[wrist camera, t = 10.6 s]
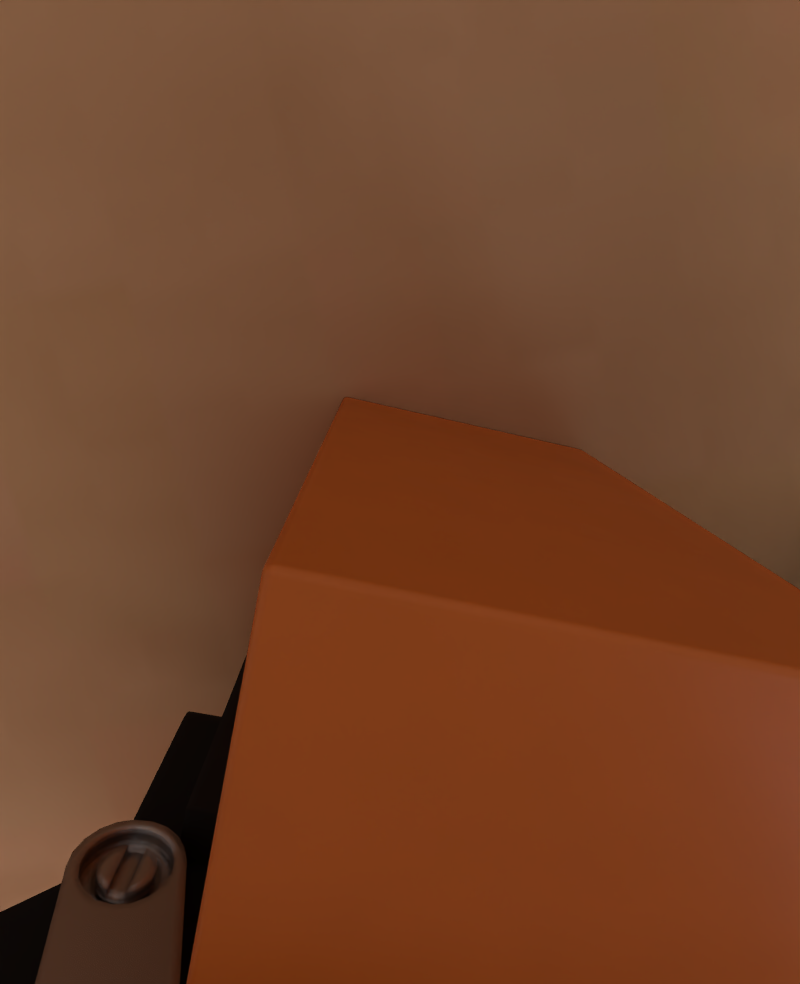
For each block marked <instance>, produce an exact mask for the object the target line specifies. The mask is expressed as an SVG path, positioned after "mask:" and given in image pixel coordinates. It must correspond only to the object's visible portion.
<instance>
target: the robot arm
mask: <svg viewBox="0 0 800 984" xmlns="http://www.w3.org/2000/svg"><path fill="white" fill-rule="evenodd" d="M246 657H247V655H246ZM245 662H246V658H245V660H244V663H243V665H242V668H241V670H240V673H239V675H238V678H237V680H236V683H235V685H234V688H233V690H232V693H231V695H230V698H229V701H228V703H227V706H226V708H225V711H224V713H223V716H222V717H219V716H213V715H207V714H201V713H196V712H190V711H189V712H187V713H186V715H185V717H184V718H183V720H182V722H181V724H180V727H179V729H178V731H177V733H176V735H175V737H174V739H173V741H172V743H171V745H170V747H169V749H168V751H167V753H166V755H165V757H164V759H163V761H162V763H161V765H160V767H159V769H158V771H157V773H156V775H155V777H154V779H153V781H152V783H151V786H150V788H149V790H148V792H147V794H146V796H145V798H144V800H143V802H142V804H141V806H140V808H139V810H138V812H137V814H136V816H135V818H134V820H130V821H122V822H117V823H114V824H111V825H109V826H106V827H103V828H101V829H99V830H97V831H96V832H94V833H93V834H91V835H90V836H88V837H87V838H85V839H84V840H83V841H82V842H81V843H80V844H79V846H78V847H77V848H76V849H75V850H74V851H73V853H72V855H71V857H70V859H69V861H68V863H67V865H66V868H65V872H64V876H63V879H62V883H61V884H59V885H57V886H55V887H52V888H50V889H48V890H46V891H44V892H42V893H40V894H38V895H36V896H33V897H31V898H29V899H27V900H25V901H23V902H21V903H19V904H17V905H15V906H12V907H10V908H8V909H6V910H4V911H2V912H0V984H186V983H187V977H188V972H189V966H190V961H191V956H192V950H193V945H194V939H195V934H196V928H197V923H198V918H199V912H200V907H201V901H202V896H203V890H204V885H205V880H206V874H207V869H208V863H209V858H210V852H211V847H212V842H213V836H214V831H215V825H216V820H217V814H218V809H219V804H220V798H221V793H222V787H223V782H224V776H225V771H226V766H227V760H228V755H229V749H230V744H231V738H232V733H233V728H234V722H235V717H236V711H237V706H238V700H239V695H240V690H241V684H242V679H243V673H244V668H245Z"/></svg>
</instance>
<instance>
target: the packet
mask: <svg viewBox="0 0 800 984" xmlns="http://www.w3.org/2000/svg"><path fill="white" fill-rule="evenodd" d="M186 984H800V589H798V588H797V587H795V586H793V585H792V584H790V583H789V582H787V581H786V580H784V579H782V578H781V577H779V576H778V575H776V574H775V573H773V572H771V571H770V570H768V569H767V568H765V567H764V566H762V565H761V564H759V563H757V562H756V561H754V560H753V559H751V558H750V557H748V556H746V555H745V554H743V553H742V552H740V551H739V550H737V549H735V548H734V547H732V546H731V545H729V544H728V543H726V542H725V541H723V540H721V539H720V538H718V537H717V536H715V535H714V534H712V533H710V532H709V531H707V530H706V529H704V528H703V527H701V526H700V525H698V524H696V523H695V522H693V521H692V520H690V519H689V518H687V517H685V516H684V515H682V514H681V513H679V512H678V511H676V510H674V509H673V508H671V507H670V506H668V505H667V504H665V503H664V502H662V501H660V500H659V499H657V498H656V497H654V496H653V495H651V494H649V493H648V492H646V491H645V490H643V489H642V488H640V487H638V486H637V485H635V484H634V483H632V482H631V481H629V480H628V479H626V478H624V477H623V476H621V475H620V474H618V473H617V472H615V471H613V470H612V469H610V468H609V467H607V466H606V465H604V464H602V463H601V462H599V461H598V460H596V459H595V458H593V457H592V456H590V455H588V454H587V453H585V452H584V451H582V450H580V449H576V448H572V447H567V446H563V445H558V444H554V443H549V442H545V441H540V440H536V439H532V438H527V437H523V436H518V435H514V434H509V433H505V432H500V431H496V430H492V429H487V428H483V427H478V426H474V425H469V424H465V423H460V422H456V421H451V420H447V419H443V418H438V417H434V416H429V415H425V414H420V413H416V412H411V411H407V410H403V409H398V408H394V407H389V406H385V405H380V404H376V403H371V402H367V401H362V400H358V399H354V398H349V397H345V398H344V399H343V401H342V403H341V405H340V407H339V409H338V411H337V413H336V415H335V417H334V420H333V422H332V424H331V426H330V428H329V430H328V432H327V434H326V437H325V439H324V441H323V443H322V445H321V447H320V449H319V451H318V454H317V456H316V458H315V460H314V462H313V464H312V466H311V468H310V471H309V473H308V475H307V477H306V479H305V481H304V483H303V485H302V488H301V490H300V492H299V494H298V496H297V498H296V500H295V502H294V504H293V507H292V509H291V511H290V513H289V515H288V517H287V519H286V521H285V524H284V526H283V528H282V530H281V532H280V534H279V536H278V538H277V541H276V543H275V545H274V547H273V549H272V551H271V553H270V555H269V558H268V560H267V562H266V564H265V566H264V568H263V570H262V576H261V581H260V586H259V592H258V597H257V603H256V608H255V614H254V619H253V624H252V630H251V635H250V641H249V646H248V652H247V657H246V662H245V668H244V673H243V679H242V684H241V690H240V695H239V700H238V706H237V711H236V717H235V722H234V728H233V733H232V738H231V744H230V749H229V755H228V760H227V766H226V771H225V776H224V782H223V787H222V793H221V798H220V804H219V809H218V814H217V820H216V825H215V831H214V836H213V842H212V847H211V852H210V858H209V863H208V869H207V874H206V880H205V885H204V890H203V896H202V901H201V907H200V912H199V918H198V923H197V928H196V934H195V939H194V945H193V950H192V956H191V961H190V966H189V972H188V977H187V983H186Z"/></svg>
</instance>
